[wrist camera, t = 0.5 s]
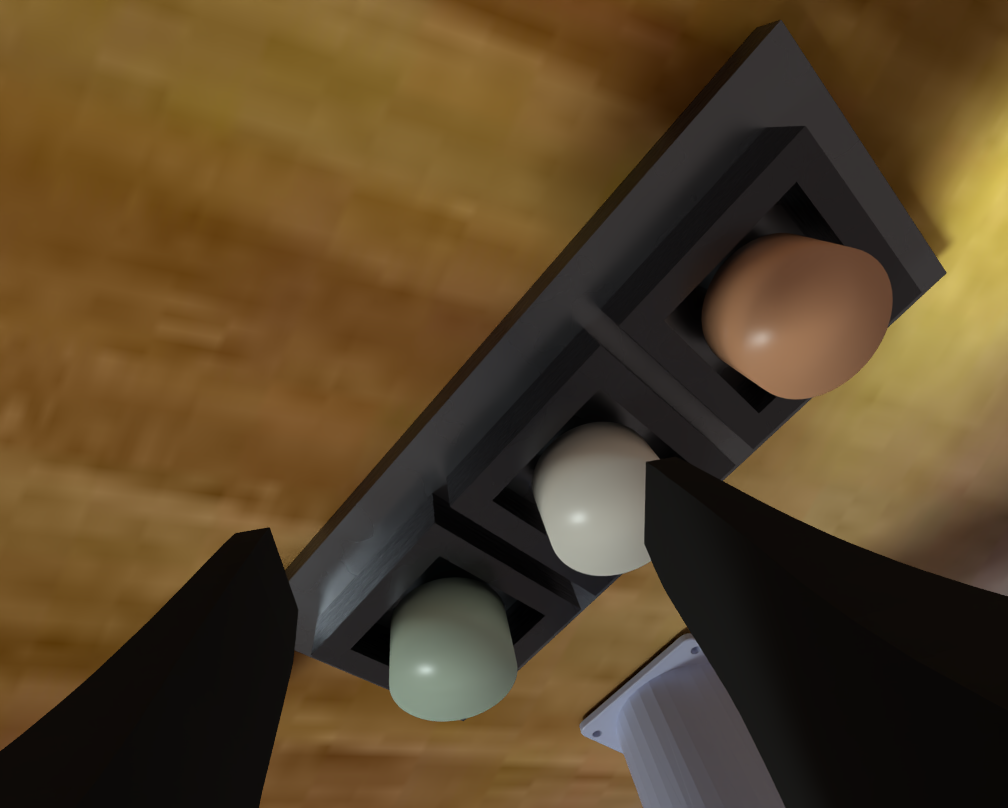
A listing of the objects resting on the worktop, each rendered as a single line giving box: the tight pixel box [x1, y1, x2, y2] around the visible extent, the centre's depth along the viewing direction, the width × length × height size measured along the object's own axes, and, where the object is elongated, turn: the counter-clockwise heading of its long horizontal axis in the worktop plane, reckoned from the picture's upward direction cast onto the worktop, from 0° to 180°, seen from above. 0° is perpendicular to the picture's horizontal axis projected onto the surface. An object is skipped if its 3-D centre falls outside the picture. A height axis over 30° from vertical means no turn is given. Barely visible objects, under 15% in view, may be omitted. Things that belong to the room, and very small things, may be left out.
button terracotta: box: [701, 233, 893, 399], centre depth 17 cm, size 4×4×2 cm
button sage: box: [389, 577, 517, 721], centre depth 20 cm, size 4×4×2 cm
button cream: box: [532, 422, 659, 576], centre depth 18 cm, size 4×4×2 cm
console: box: [285, 20, 946, 721], centre depth 20 cm, size 11×27×3 cm, turn 138°
